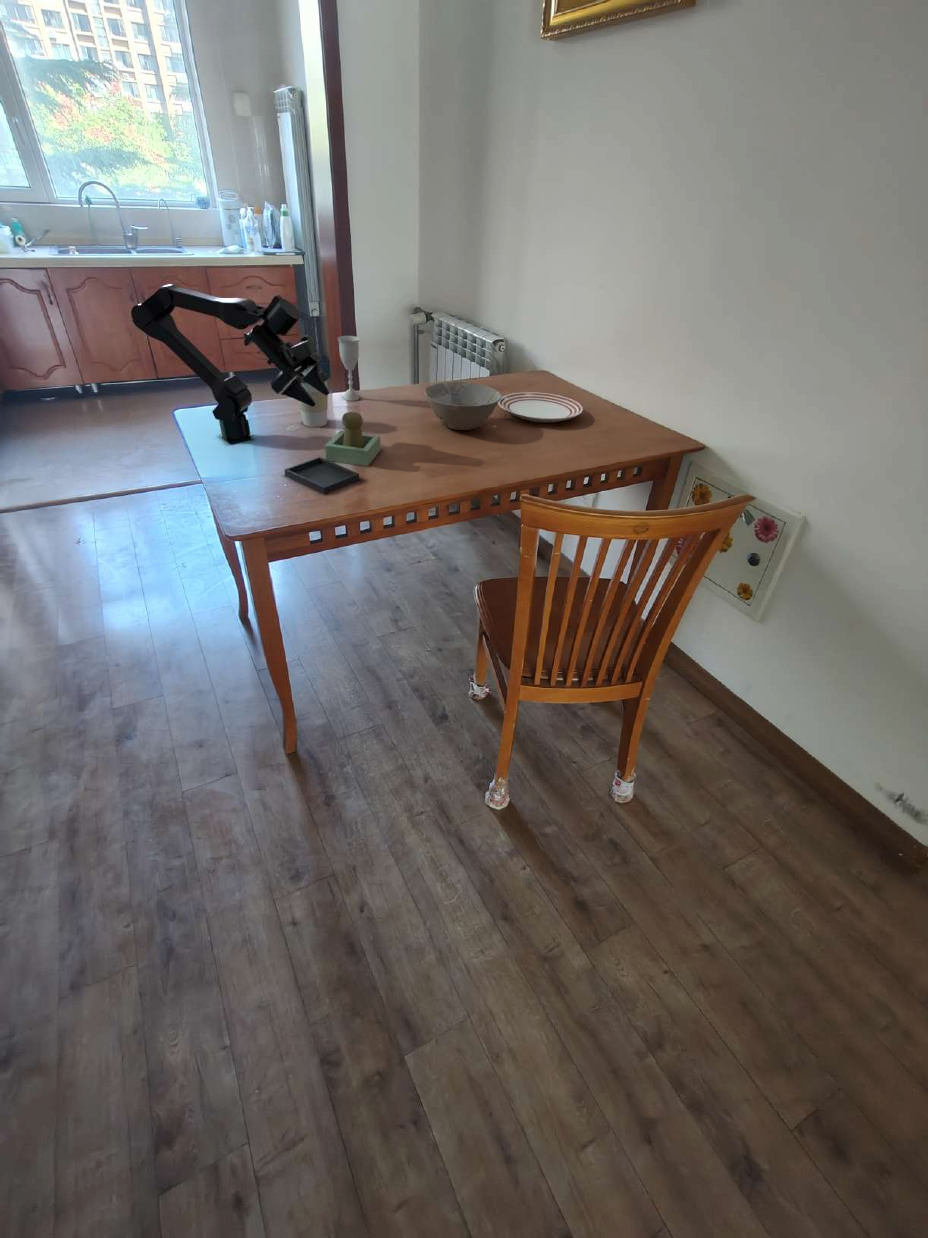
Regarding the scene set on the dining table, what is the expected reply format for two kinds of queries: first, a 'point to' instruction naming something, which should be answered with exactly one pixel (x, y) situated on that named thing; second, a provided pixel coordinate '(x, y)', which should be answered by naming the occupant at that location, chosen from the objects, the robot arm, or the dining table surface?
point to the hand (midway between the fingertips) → (321, 399)
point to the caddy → (352, 450)
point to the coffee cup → (319, 412)
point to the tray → (322, 475)
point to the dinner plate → (540, 407)
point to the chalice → (349, 361)
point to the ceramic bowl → (462, 403)
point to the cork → (352, 430)
